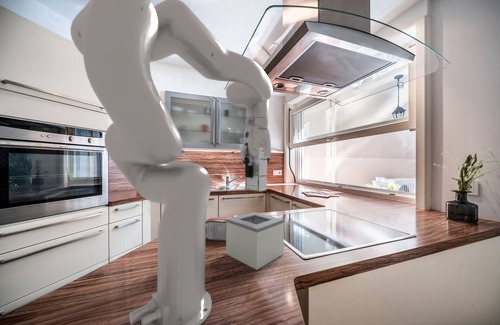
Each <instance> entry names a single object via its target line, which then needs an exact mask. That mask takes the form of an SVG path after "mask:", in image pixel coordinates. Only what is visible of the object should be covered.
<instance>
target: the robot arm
mask: <svg viewBox="0 0 500 325" xmlns="http://www.w3.org/2000/svg"><path fill="white" fill-rule="evenodd" d="M70 36H71V39H72V41H73V44H74V46H75V47H76V49H77V51H79V53H80V54H81V55H82V56H83V57H82V58H83V63H84V69H85V72H86V76H87V79H88V81H89V84H90V87H91V88H92V90H93V92H94V94H95V96H96V97H97V99H98V101H99V102H100V104H101V106H102V107H103V108H104V110H105V112H106V114H107V115H108V117H109V118H110V119H111V121H112V123H111V124H110V125H109V126H108V127H107V129H106V132H105V134H104V146H105V149H106V153H107V154H108V155H109V158H110V159H111V161H112V162H113V163H114V164H115V166H116V167H117V169H119V170H120V172H121V173H122V175H123V176H124V177H125V178H126V180H127V182H129V183H130V185H131V186H132V188H133V189H134V190H135V191H136V192H137V193H138V194H139V195H140V196H141V197H143V198H144V199H145V200H147V201H151V202H153V203H158V204H162V205H164V209H163V212H162V215H161V216H160V219H159V222H158V227H157V268H156V269H157V275H156V277H157V279H156V281H157V283H156V284H157V285H156V288H157V289H156V292H154V293H152V294H151V300H150V301H148V302H147V303H146V305H144V306H142V307H139V308H137V309H135V310H133V311H131V312H129V314H128V315H129V316H128V319H129V324H130V325H133V324H136V323H138V322H140V323H141V325H202V324H203V323H204V322H205V321H206V320H207V318H208V317H209V316H210V313H211V312H212V311H211V310H212V306H213V304H212V302H213V301H212V300H213V299H212V296H211V294H210V293H209V292H208V291H206V290H205V288H206V287H205V286H206V285H205V284H206V280H205V278H206V275H205V274H206V238H205V228H206V221H207V211H208V203H209V198H210V194H211V190H212V181H211V176H210V173H209V172H208V170H207V169H206V168H205V167H203V166H202V165H200V164H198V163H195V162H191V161H174V160H176V159H178V157H179V156H180V155H181V154H182V151H183V145H184V144H183V138H182V136H181V134H180V132H179V130H178V128H177V126H176V124H175V122H174V120H173V118H172V116H171V115H170V112H169V110H168V109H167V107H166V105H165V103H164V101H163V100H162V97H161V96H160V93H159V92H158V89H157V87H156V85H155V83H154V80H153V77H152V73H151V65H150V64H151V62H157V61H160V60H164V59H166V58H169V57H170V56H172V55H177V56H178V57H179V58H180V59H182V60H183V61H184V62H186V63H187V64H188V65H190V67H192V68H193V69H194V70H195V71H197V72H198V73H199V74H200V75H201V76H202V77H204V78H206V79H208V80H212V81H219V82H229V83H230V82H231V83H230V84H229V85H227V88H226V90H225V96H226V98H227V101H228V102H229V103H230V105H232V106H235V107H240V108H244V109H245V110H246V111H245V112H246V114H245V115H246V119H245V121H244V122H245V129H244V133H243V139H242V140H243V141H242V148H241V150H240V151H239V153H238V156H239V157H240V158H241V161H242V163H243V166H244V177H248V178H253V166H252V163H253V160H254V157H258V148H263V149H264V157H266V158H267V166H268V165H269V162H270V160H271V158H272V148H271V146H272V145H271V135H270V129H269V100H270V99H271V97H272V95H273V86H272V82H271V81H270V78H269V76H268V75H267V74H266V72H265V71H264V70H263V68H262V67H261V66H260V65H259V64H258V63H257V62H256V61H255V60H253V59H252V58H250V57H246V56H245V55H242V54H240V53H237V52H234V51H232V50H230V49H229V50H228V49H226V48H225V47H224V46H223V44H222V43H221V42H220V41H219V39H217V38H216V36H215V35H213V33H212V32H211V31H210V30H209V28H208V27H207V26H206V25H205V24H204V23H203V22H202V21H201V20H200V18H198V16H197V15H196V14H195V13H194V11H193V10H191V8H190V7H189V6H188V5H187V4H186V3H185V2H183V1H182V0H163V1H161V2H159V3H157V4H156V5H154V3H153V1H152V0H89V1H88V2H87V3H86V5H85V6H84V7H83V8H82V9H81V10H79V12H78V13H77V14H76V15H75V17H74V18H73V20H72V22H71V26H70ZM247 151H248V152H247ZM246 152H247V155H246ZM248 154H250V155H251V156H248ZM249 159H250V160H249Z"/></svg>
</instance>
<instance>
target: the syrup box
mask: <svg viewBox="0 0 500 325" xmlns="http://www.w3.org/2000/svg"><path fill="white" fill-rule="evenodd" d="M247 152H248V151H247ZM247 152H246V155H247ZM248 156H251V155H250V154H248ZM249 160H250V159H249ZM252 166H253V178H248V177H245V176H244V177H245V178H244V179H245V180H244V182H245V186H244V187H245V188H244V189H245V191H251V192H263V191H267V189H268V188H267V187H268V183H267V182H268V181H267V180H268V179H267V178H268V175H267V173H268V168H267V167H268V165H267V158H266V157H264V149H263V148H258V157H254V160H253V163H252Z"/></svg>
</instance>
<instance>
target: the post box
mask: <svg viewBox="0 0 500 325" xmlns="http://www.w3.org/2000/svg"><path fill="white" fill-rule="evenodd" d="M226 219H227V236H226V241H225V243H226V245H225V246H226V247H225V250H226V251H225V253H226V255H227V256H229V257H231V258H233V259H235V260H236V261H239V262H241V263H242V264H244V265H246V266H248V267H250V268H252V269H255V270H256V271H257V270H259V269H261V268H262V267H264V266H266V265H267V264H269V263H271V262H273V261H274V260H276V259H277V258H279V257H281V256H282V255H284V246H285V244H284V242H285V240H284V237H285V235H284V233H285V219H283V218H279V217H275V216H271V215H267V214H264V213H260V212H256V211H253V212H249V213H246V214H245V213H244V214H240V215H238V216H234V217H229V218H226Z"/></svg>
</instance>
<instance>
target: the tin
mask: <svg viewBox="0 0 500 325" xmlns="http://www.w3.org/2000/svg"><path fill="white" fill-rule="evenodd" d="M227 219H228V218H214V217H213V218H211V217H210V218H208V219H206V228H205V239H206V240H208V241H218V242H219V241H220V242H226V236H227Z"/></svg>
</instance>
